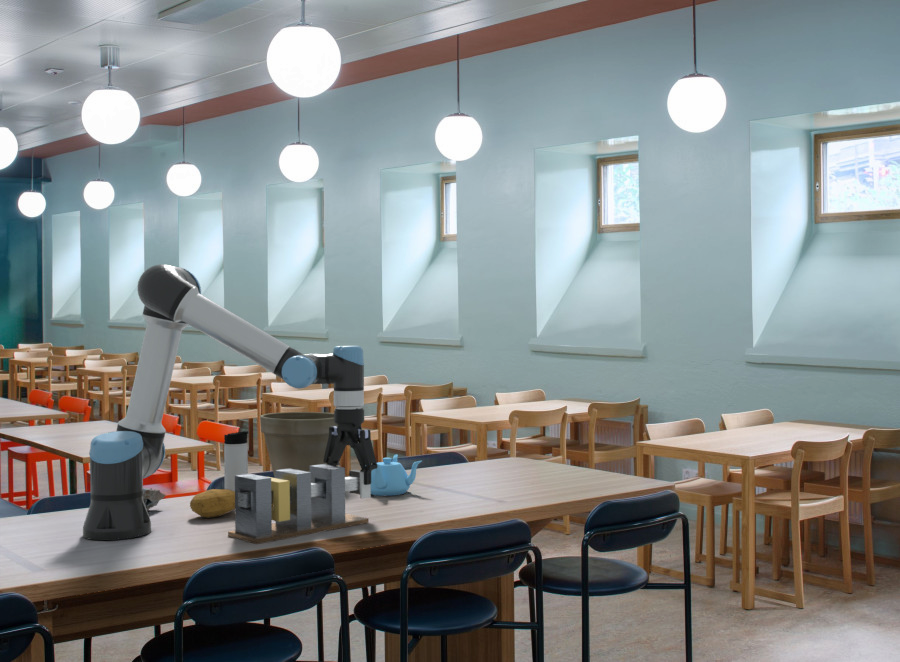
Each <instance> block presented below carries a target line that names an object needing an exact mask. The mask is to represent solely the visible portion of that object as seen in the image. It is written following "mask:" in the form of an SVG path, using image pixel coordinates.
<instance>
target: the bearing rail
mask: <svg viewBox="0 0 900 662" xmlns="http://www.w3.org/2000/svg"><path fill="white" fill-rule="evenodd" d="M337 466H338V465H336V466H331V465H325V464H320V465H312V466H309V468H310V472H306V471H300V470H295V469H282V470H275V477H274V478H277V479H282V480H288V481H290V485H291V488H292V500H290V520H286V521H280V522H278V521H275V523H272V521H273V520H272V513H271V478H270V476H264V475H257V474H254V473H248V474H243V475H236V476H235V509H234V528H235V529H234V530H231V531H230V530H229V531H227V536H228V537H231V538H234V539H236V540H237V539H238V540H241V541H243V542H244V541H245V542H248V543H251V544H255V545H258V544H264V543H269V542H273V541H279V540H284V539H289V538H290V539H291V538H295V537H300V536H304V535H305V536H306V535H310V534H314V533H321V532H325V531H326V532H327V531H331V530H337V529H342V528H346V527H351V526H358V525H363V524H367V523H369V518H367V517H363V516H359V515H355V514H349V513H346V492H345V477H346V470H345V469H346V467H343V466H340V467H337ZM323 480H326V495H322V496H316V497H311V482H316V481H323ZM247 491H251V507H246V508H244V507H240V506H238V493H240V492H247Z"/></svg>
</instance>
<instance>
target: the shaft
mask: <svg viewBox="0 0 900 662" xmlns="http://www.w3.org/2000/svg"><path fill="white" fill-rule="evenodd" d="M360 470H361V469H360ZM360 470H359V469H352V470H351V469H350V470H348V471H349V472H348V473H349V474H348V476H345V493H346V492H349V493H350V494H354V495H355V494H356V495H359V496H360ZM322 495H326V480H323V481H316V482H311V497H316V496H322ZM290 500H292V488H291V485H290ZM272 503H273V491H271V504H272ZM238 506H240V507H244V508H246V507H251V491H247V492H240V493H238Z"/></svg>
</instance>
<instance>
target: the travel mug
mask: <svg viewBox="0 0 900 662" xmlns="http://www.w3.org/2000/svg"><path fill="white" fill-rule="evenodd" d="M248 434H249V430H244V431H238V432H231V433H227V434H224V435H223V436H224V439H223V440H224V441H223V443H224V444H223V445H224V446H223V452H224V453H223V455H224V456H223V458H224V460H223V461H224V462H223V466H224V467H223V468H224V469H223V470H224V473H223V474H224V476H223V477H224V479H223V480H224V489H229V490H232V491H234V492H235V476H236V475H243V474H249V468H248V466H249V465H248V464H249V462H248V461H249V459H248V458H249V457H248V456H249V455H248V451H249V450H248V447H249V446H248V443H249V442H248Z"/></svg>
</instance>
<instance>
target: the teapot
mask: <svg viewBox="0 0 900 662" xmlns="http://www.w3.org/2000/svg"><path fill="white" fill-rule="evenodd" d="M398 458H399V455H398V454H397V453H396V454H394V455H393V457H383V458H382V461H380V462H379V461H378V462H377V469H374V470H372V471H371V484H370V490H371V495H373V496H380V497H383V496H385V497H388V496H399V495H400V494H401V495H403V494H406V493H407V492H408V490H409V489H410V487H411V485H413V483H414V482H415V480H416V475H417V468H418V466H419V464H420V463H422V462H423V460H418V461H414V462H413V463H412V465H411V469H410V473H409V475H408V473H407V470H406V469H405V467H404V466H403V465H402V463H400V462H398ZM371 465H372V464H371ZM365 466H366V465H365ZM401 495H400V496H401Z"/></svg>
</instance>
